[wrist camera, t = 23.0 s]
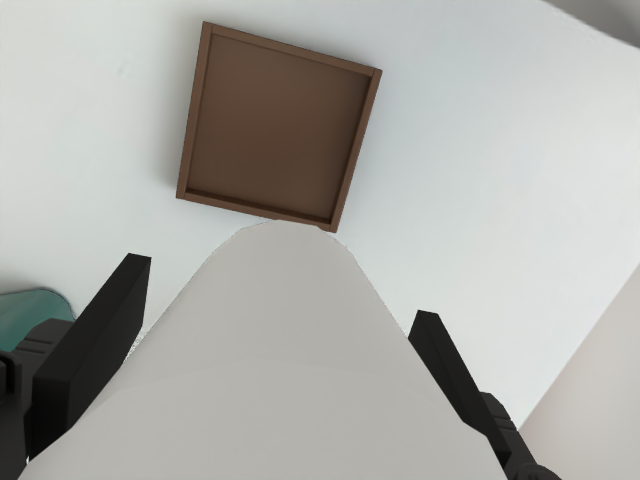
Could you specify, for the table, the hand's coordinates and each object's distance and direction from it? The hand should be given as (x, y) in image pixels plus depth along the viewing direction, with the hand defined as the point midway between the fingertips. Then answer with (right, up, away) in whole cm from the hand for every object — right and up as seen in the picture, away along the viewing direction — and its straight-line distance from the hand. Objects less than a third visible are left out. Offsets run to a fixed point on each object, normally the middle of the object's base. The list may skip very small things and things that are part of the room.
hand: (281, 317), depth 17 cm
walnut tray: (-2, +11, +19) cm, 22 cm away
